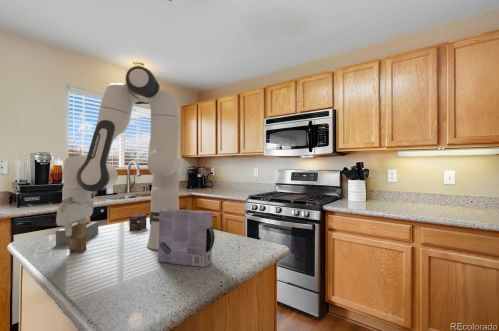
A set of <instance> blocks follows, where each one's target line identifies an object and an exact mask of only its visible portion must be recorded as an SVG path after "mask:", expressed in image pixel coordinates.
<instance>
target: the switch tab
mask: <svg viewBox="0 0 499 331" xmlns="http://www.w3.org/2000/svg"><path fill="white" fill-rule="evenodd" d="M77 222H78V224H80V220H79V221H77ZM89 222H91V216H88V217H87V221H86V223H89Z"/></svg>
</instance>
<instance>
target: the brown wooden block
mask: <svg viewBox="0 0 499 331" xmlns="http://www.w3.org/2000/svg"><path fill="white" fill-rule="evenodd" d="M71 228H72V230H73V235H71V236H70V245H69V254H82V253H83V252H84V251H86V250H87V241H86V224H77V225H73V226H71Z"/></svg>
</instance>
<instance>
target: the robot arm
mask: <svg viewBox="0 0 499 331" xmlns="http://www.w3.org/2000/svg"><path fill="white" fill-rule="evenodd" d="M124 78H125V83H116V82H115V83H114V82H113V83H110V84H108V86H107V87H106V89H105V91H104V94H103V96H102V99H101V102H100V106H99V111H98V115H97V116H98V117H97V119H96V120H97V122H96V124H95V125H96V126H95V129H94V131H93V136H92V139H91V143H90V145H89V149H88V152H87V154H86V153H85V154H84V153H83V154H73V155H68V156H67V157H66V158H65V160H64V163H63V170H62V180H63V186H62V196H61V197H62V198H61V199H62V201H61V203H60V204H59V205H58V207H57V210H56V219H55V220H56V221H55V223H56V225H57V226H58V227H63V228H64V229H65V231H66V236H71V235H73V230H72V228H71V226H72V224H73V223H75V222H78V221H79V220H80V224H86V221H87V217H91V216H92V215H93V212H94V203H95V201H94V199H95V197H96V194H95V193H94V192H99V191H101V190H102V189H105V188H108V187H110V186H112V185H114V184H115V183H116V182H117V180H118V178H119V177H118V176H119V174H118V171H117V169H116V168H115V166H113V165H111V164H109V163H108V160H109V156H110V153H111V148H112V146H113V142H114V141H115V139H116V138H117V137H118V136H119V135H121V134H123V133H125V131H126V130H127V128H128V126H129V123H130V120H131V115H132V111H133V106H134V105H149V107H150V138H149V144H148V151H147V152H148V153H147V162H146V164H147V169H148V171H149V172H150V174H151V175H152V182H151V190H150V211H149V226H150V228H149V236H148V241H147V244H146V247H147V248H148V249H152V250H156V251H157V252H158V243H159V213H160V210H163V209H177V210H181V209H180V200H179V199H180V195H179V193H180V192H179V191H180V190H179V189H180V174H181V173H180V170H181V169H180V168H181V165H180V159H179V157H178V144H179V129H180V128H179V123H180V122H179V106H178V100H177V97H176V95H175V94H174V93H173V92H172V91H169V90H165V89H161V88H160V87H161V86H160V84H159V82H158V80H157V79H156V77H155V75H154V74H153V72H152V71H151V70H149V69H148V68H146V67H145V66H141V65H136V66H132V67H130V68H129V69H128V70H127V71H126V74H125V77H124Z"/></svg>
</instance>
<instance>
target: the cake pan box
mask: <svg viewBox="0 0 499 331" xmlns="http://www.w3.org/2000/svg"><path fill="white" fill-rule="evenodd" d="M214 244H215V231H214V228H213V211H203V210H189V209H180V210H177V209H163V210H160V213H159V243H158V251H157V262H158V263H165V264H167V263H168V264H174V265H178V266H179V265H181V266H191V267H199V268H206V269H207V267H209V265H210V264H211V263H212V257H213V256H212V253H213V252H212V250H213V247H214Z"/></svg>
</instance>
